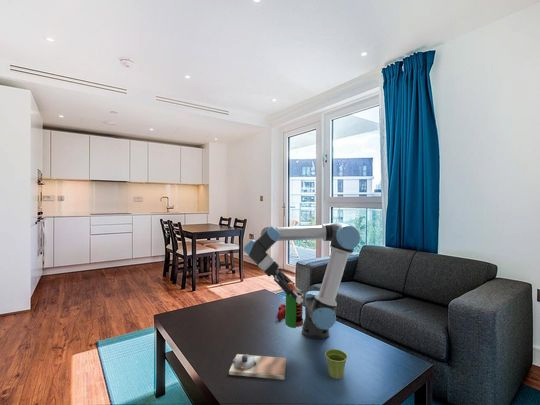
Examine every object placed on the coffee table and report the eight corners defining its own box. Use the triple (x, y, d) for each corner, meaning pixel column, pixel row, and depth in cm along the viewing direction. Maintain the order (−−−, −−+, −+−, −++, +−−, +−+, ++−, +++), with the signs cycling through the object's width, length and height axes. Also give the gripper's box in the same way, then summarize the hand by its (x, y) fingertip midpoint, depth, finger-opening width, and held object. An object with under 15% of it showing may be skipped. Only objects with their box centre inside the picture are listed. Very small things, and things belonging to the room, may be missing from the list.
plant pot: (331, 365, 127) (331, 346, 126) (350, 373, 121) (350, 353, 120) (321, 375, 119) (321, 355, 119) (341, 384, 113) (341, 364, 113)
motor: (302, 328, 132) (302, 287, 132) (283, 327, 134) (283, 286, 134) (303, 320, 142) (303, 281, 142) (286, 318, 144) (286, 280, 144)
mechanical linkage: (283, 310, 188) (283, 303, 187) (293, 312, 185) (292, 304, 185) (273, 320, 173) (273, 312, 173) (284, 322, 170) (284, 314, 170)
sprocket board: (286, 361, 129) (286, 351, 129) (284, 379, 117) (284, 369, 116) (236, 357, 133) (236, 347, 133) (229, 374, 120) (228, 364, 120)
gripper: (266, 265, 149) (296, 297, 148) (260, 276, 130) (294, 312, 128) (276, 256, 149) (306, 287, 147) (271, 265, 129) (306, 302, 127)
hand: (301, 299), depth 137 cm, fingers closed on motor, 7 cm apart
